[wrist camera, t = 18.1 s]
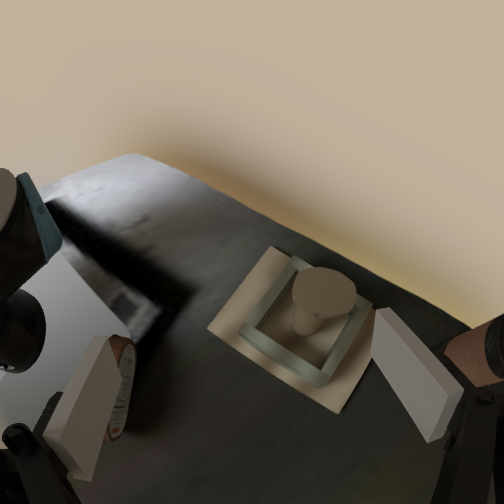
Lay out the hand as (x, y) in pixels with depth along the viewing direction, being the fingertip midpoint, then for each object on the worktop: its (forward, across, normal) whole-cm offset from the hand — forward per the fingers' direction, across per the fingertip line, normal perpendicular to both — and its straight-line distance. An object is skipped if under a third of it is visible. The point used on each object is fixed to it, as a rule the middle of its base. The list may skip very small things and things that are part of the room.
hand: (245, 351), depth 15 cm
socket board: (+26, +9, -16) cm, 32 cm away
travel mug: (+18, +29, -24) cm, 42 cm away
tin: (+22, -18, -22) cm, 35 cm away
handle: (+26, +9, -16) cm, 31 cm away
